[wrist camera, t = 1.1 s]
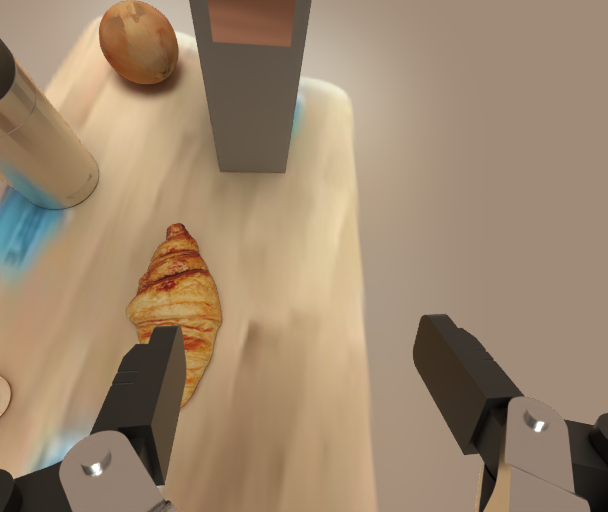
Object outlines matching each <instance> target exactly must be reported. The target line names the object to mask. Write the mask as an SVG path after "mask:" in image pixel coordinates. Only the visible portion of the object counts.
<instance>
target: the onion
mask: <svg viewBox="0 0 608 512" xmlns="http://www.w3.org/2000/svg"><path fill="white" fill-rule="evenodd" d="M99 40H100V47H101V49H102V52H103V54H104V56H105V58H106V59H107V61H108V62H109V63H110V65H111V66H112V67H113V68H114V69H115V70H116V71H117V72H118V73H119V74H120V75H121V76H122V77H124V78H126V79H128V80H130V81H132V82H135V83H139V84H155V83H159V82H161V81H163V80H165V79H166V78H167V77H168V76H169V75H170V74H171V73H172V72H173V70H174V68H175V66H176V63H177V60H178V43H177V39H176V35H175V32H174V30H173V28H172V26H171V24H170V23H169V21H168V19H167V18H166V17H165V16H164V15H163V14H162V13H161V12H160V11H159V10H157V9H156V8H154V7H153V6H151V5H149V4H147V3H144V2H141V1H136V0H126V1H121V2H119V3H117V4H115V5H113V6H112V7H111V8H110V9H109V10H108V11H107V12H106V13H105V14H104V16H103V18H102V21H101V23H100V27H99Z"/></svg>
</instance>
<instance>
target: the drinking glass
mask: <svg viewBox="0 0 608 512" xmlns="http://www.w3.org/2000/svg"><path fill="white" fill-rule="evenodd" d="M10 398H11V390H10V386H9V384H8V383H7V381H6V380H5V379H4V378H3V377H1V376H0V416H1V415H2V414H3V413H4V411H5V410H6V408H7V407H8V404H9V402H10Z"/></svg>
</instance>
